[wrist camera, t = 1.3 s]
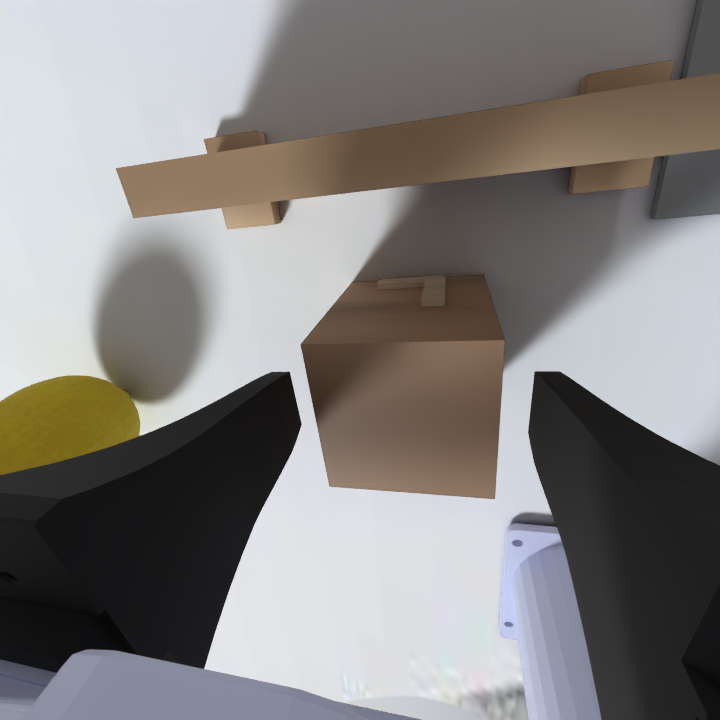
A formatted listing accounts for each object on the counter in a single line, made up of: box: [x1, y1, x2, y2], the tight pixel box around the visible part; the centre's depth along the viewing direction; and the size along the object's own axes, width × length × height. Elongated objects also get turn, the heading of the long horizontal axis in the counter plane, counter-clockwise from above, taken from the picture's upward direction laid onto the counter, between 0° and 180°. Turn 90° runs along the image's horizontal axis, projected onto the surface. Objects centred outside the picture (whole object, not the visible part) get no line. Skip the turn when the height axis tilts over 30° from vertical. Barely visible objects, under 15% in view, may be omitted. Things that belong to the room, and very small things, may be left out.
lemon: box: [0, 376, 140, 475], centre depth 17 cm, size 6×6×8 cm
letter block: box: [301, 274, 505, 499], centre depth 13 cm, size 5×5×6 cm
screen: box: [116, 60, 720, 229], centre depth 10 cm, size 3×14×5 cm, turn 98°
